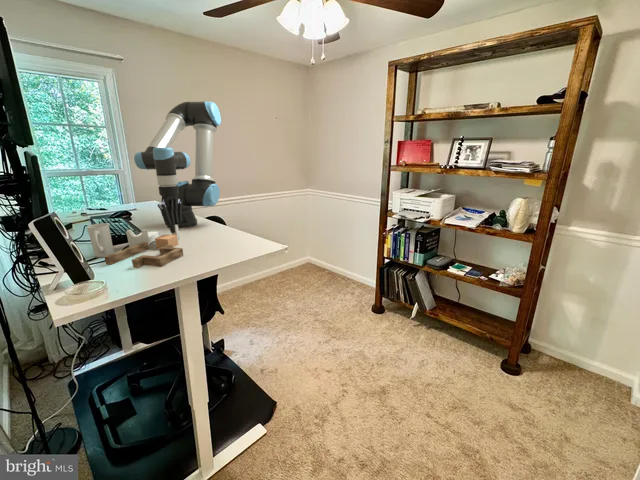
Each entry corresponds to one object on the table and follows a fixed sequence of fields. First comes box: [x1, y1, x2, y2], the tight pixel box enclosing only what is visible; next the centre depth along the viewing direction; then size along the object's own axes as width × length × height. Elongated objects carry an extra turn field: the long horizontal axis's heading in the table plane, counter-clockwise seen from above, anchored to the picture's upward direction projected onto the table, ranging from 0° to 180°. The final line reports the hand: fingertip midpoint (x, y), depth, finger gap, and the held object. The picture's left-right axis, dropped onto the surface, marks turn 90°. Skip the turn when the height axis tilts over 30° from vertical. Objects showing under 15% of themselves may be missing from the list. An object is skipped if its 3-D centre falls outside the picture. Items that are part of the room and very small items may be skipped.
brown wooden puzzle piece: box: [103, 242, 184, 269], centre depth 115 cm, size 18×21×3 cm
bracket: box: [125, 228, 160, 248], centre depth 133 cm, size 13×7×8 cm, turn 6°
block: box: [154, 234, 179, 250], centre depth 128 cm, size 6×6×4 cm
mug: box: [86, 222, 115, 258], centre depth 116 cm, size 10×7×12 cm, turn 22°
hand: (176, 239), depth 134 cm, fingers closed
